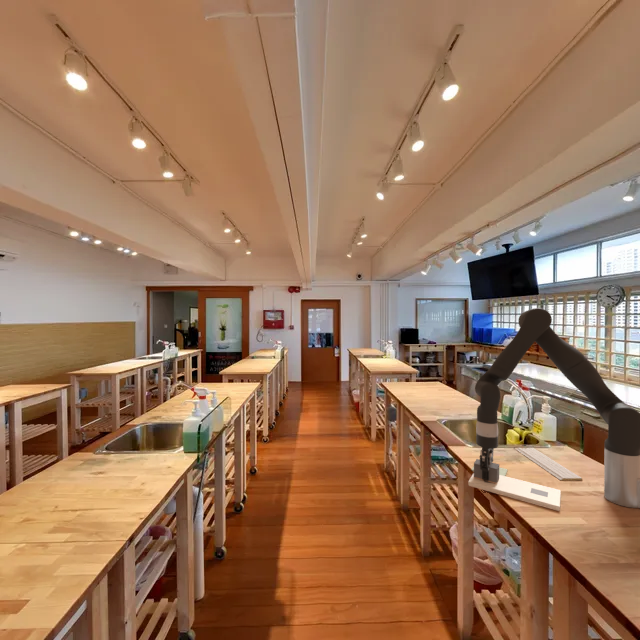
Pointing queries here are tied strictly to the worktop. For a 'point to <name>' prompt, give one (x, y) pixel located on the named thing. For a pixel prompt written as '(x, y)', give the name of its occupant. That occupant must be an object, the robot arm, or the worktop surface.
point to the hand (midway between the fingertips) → (486, 476)
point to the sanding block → (492, 471)
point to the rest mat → (501, 471)
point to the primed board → (521, 491)
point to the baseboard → (548, 464)
